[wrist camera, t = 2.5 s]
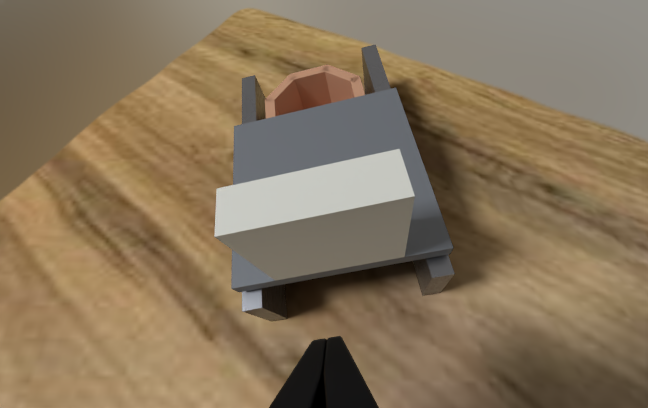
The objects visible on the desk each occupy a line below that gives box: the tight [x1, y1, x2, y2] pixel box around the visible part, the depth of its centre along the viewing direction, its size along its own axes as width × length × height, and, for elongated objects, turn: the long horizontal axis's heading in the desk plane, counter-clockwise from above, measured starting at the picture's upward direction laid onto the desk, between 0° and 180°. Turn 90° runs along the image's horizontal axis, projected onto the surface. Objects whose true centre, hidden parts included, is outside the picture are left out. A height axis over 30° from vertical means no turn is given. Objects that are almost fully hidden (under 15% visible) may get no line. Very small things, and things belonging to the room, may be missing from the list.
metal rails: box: [242, 45, 455, 321], centre depth 24 cm, size 20×12×5 cm, turn 8°
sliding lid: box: [215, 88, 453, 292], centre depth 16 cm, size 12×12×8 cm
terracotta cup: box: [265, 65, 365, 118], centre depth 26 cm, size 8×8×5 cm
